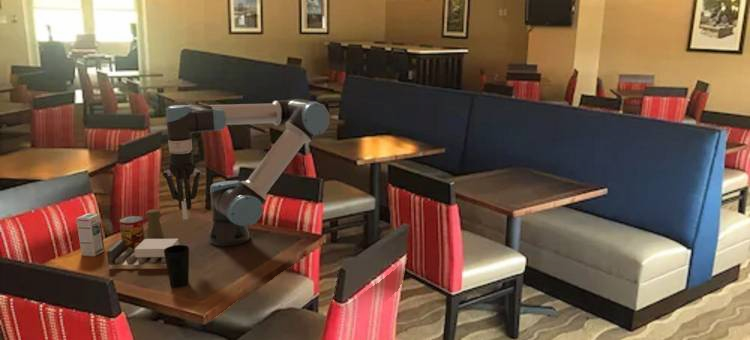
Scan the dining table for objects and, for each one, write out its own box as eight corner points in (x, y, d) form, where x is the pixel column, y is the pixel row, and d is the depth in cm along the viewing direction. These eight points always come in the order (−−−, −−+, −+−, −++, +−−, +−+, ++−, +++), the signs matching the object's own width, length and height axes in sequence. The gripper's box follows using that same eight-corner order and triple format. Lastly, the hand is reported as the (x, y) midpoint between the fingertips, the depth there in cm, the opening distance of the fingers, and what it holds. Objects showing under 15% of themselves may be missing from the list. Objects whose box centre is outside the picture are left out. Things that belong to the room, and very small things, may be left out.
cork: (166, 236, 242) (164, 209, 239) (153, 240, 237) (151, 213, 234) (156, 233, 245) (154, 207, 242) (143, 237, 240) (141, 211, 238)
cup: (170, 279, 201) (167, 245, 198) (194, 278, 202) (191, 244, 199) (164, 289, 193) (161, 254, 191) (189, 288, 194) (186, 253, 191)
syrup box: (95, 256, 221) (90, 218, 218) (80, 255, 222) (75, 217, 219) (105, 251, 227) (100, 213, 223) (90, 250, 228) (86, 212, 224)
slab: (179, 246, 220) (178, 238, 219) (170, 257, 210) (169, 248, 209) (145, 246, 220) (144, 238, 219) (135, 257, 210) (134, 249, 209)
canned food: (118, 251, 226) (115, 220, 224) (137, 244, 233) (134, 214, 230) (131, 255, 222) (128, 224, 219) (150, 248, 228) (147, 218, 226)
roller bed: (183, 255, 222) (182, 238, 220) (173, 268, 210) (171, 250, 209) (122, 256, 222) (120, 239, 220) (108, 269, 210) (106, 251, 208)
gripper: (157, 154, 203) (163, 221, 208) (197, 153, 203) (202, 221, 208) (165, 149, 210) (170, 215, 216) (203, 149, 210) (207, 214, 216)
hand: (186, 218), depth 212 cm, fingers closed
